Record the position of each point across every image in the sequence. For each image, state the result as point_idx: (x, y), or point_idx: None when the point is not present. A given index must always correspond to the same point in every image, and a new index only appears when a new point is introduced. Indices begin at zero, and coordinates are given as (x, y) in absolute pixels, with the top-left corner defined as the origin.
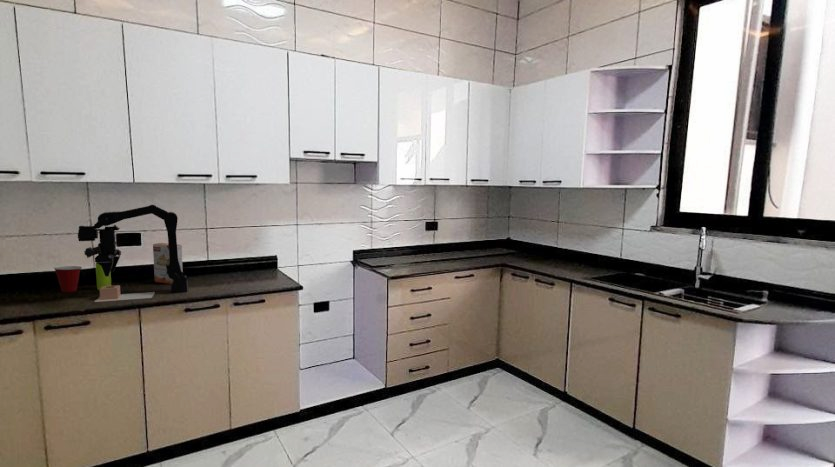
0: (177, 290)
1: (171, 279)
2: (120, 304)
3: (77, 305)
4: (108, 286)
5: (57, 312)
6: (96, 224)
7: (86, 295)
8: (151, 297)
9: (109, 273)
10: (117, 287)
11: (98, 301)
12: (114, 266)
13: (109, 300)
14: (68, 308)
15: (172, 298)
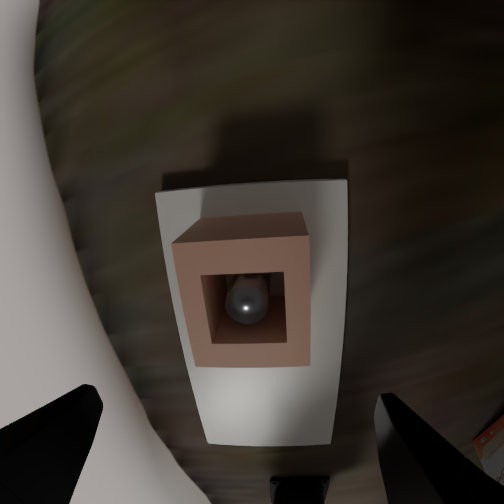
0: (274, 501)
1: (491, 445)
2: (138, 336)
3: (151, 97)
4: (285, 289)
5: (42, 76)
6: None
7: (436, 70)
8: (214, 443)
9: (88, 437)
10: (217, 366)
11: (161, 219)
12: (390, 494)
13: (176, 281)
14: (96, 82)
15: (223, 477)
